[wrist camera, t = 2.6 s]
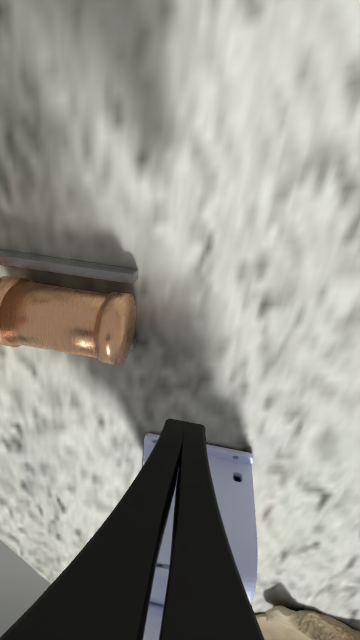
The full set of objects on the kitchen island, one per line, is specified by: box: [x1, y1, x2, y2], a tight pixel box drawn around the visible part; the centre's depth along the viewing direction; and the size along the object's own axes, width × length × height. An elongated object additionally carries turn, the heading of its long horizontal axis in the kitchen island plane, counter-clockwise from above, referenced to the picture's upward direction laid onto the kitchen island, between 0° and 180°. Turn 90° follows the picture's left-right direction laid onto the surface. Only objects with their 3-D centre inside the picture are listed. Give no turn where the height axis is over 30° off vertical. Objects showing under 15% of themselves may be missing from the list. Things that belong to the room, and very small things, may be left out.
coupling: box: [0, 276, 136, 365], centre depth 18 cm, size 8×4×4 cm, turn 85°
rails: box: [0, 250, 138, 351], centre depth 19 cm, size 11×6×1 cm, turn 85°
